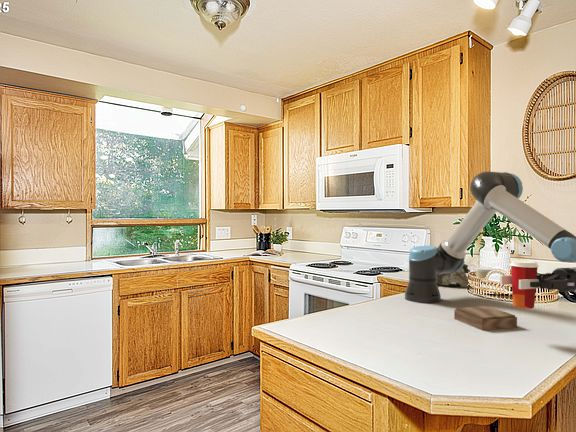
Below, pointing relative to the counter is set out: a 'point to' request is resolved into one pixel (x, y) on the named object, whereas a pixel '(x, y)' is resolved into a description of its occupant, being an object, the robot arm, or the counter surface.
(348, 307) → the counter surface
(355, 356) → the counter surface
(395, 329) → the counter surface
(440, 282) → the hollow geode rock
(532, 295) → the paper cup
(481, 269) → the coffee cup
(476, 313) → the walnut plinth
